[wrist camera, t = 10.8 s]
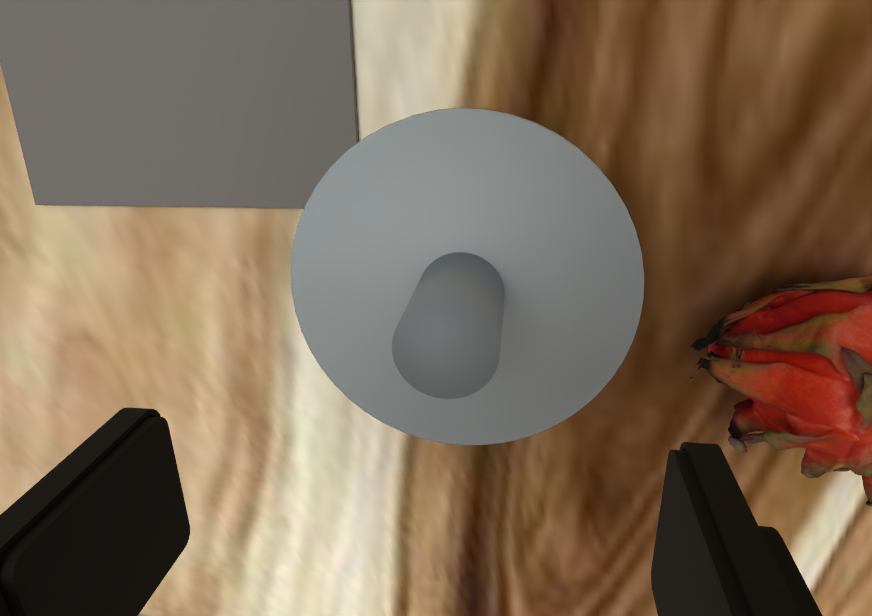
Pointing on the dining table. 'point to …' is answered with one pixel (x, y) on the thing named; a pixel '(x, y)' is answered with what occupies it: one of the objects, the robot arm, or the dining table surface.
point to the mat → (179, 99)
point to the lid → (467, 276)
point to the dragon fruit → (801, 373)
